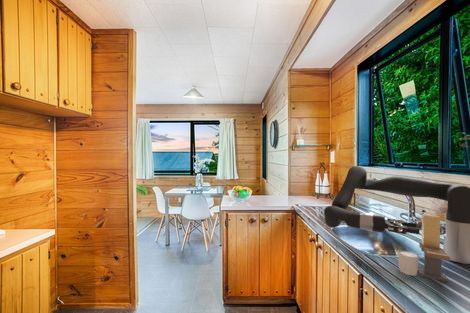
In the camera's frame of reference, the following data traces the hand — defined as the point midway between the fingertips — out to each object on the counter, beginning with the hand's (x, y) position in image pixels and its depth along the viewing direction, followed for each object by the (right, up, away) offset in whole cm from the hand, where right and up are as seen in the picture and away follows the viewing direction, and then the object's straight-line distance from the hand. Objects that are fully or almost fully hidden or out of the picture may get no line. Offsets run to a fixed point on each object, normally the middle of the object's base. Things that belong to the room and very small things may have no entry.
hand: (417, 228), depth 99 cm
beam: (0, -6, -7) cm, 9 cm away
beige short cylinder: (-7, -16, -4) cm, 18 cm away
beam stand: (0, -16, -7) cm, 17 cm away
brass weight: (+3, -6, -2) cm, 7 cm away
